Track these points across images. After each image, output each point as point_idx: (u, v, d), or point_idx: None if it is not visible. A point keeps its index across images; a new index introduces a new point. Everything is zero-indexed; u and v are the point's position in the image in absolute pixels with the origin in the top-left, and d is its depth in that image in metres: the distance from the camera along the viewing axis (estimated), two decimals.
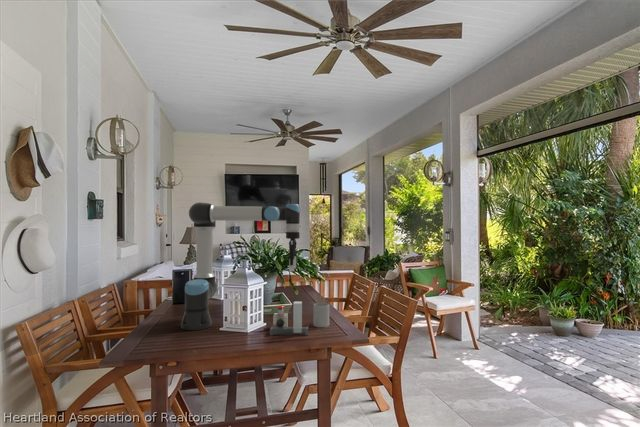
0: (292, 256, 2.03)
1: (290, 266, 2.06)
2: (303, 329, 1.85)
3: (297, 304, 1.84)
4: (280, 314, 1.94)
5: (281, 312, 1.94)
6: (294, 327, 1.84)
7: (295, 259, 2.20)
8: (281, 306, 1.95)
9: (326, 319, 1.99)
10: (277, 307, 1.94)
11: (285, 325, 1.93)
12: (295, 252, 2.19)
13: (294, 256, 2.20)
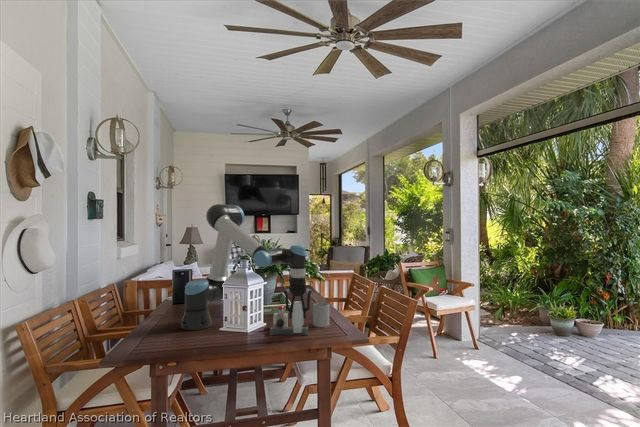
0: (286, 308, 1.86)
1: None
2: (303, 329, 1.85)
3: (297, 304, 1.84)
4: (280, 314, 1.94)
5: (281, 312, 1.94)
6: (294, 327, 1.84)
7: None
8: (281, 306, 1.95)
9: (326, 319, 1.99)
10: (277, 307, 1.94)
11: (285, 325, 1.93)
12: (302, 305, 1.85)
13: (303, 311, 1.86)
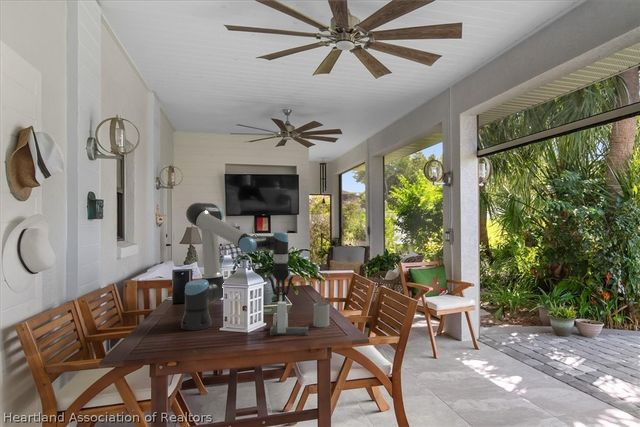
0: None
1: None
2: (303, 329, 1.85)
3: (281, 304, 1.84)
4: None
5: None
6: (278, 327, 1.84)
7: None
8: None
9: (326, 319, 1.99)
10: None
11: None
12: (282, 289, 1.94)
13: (282, 295, 1.95)
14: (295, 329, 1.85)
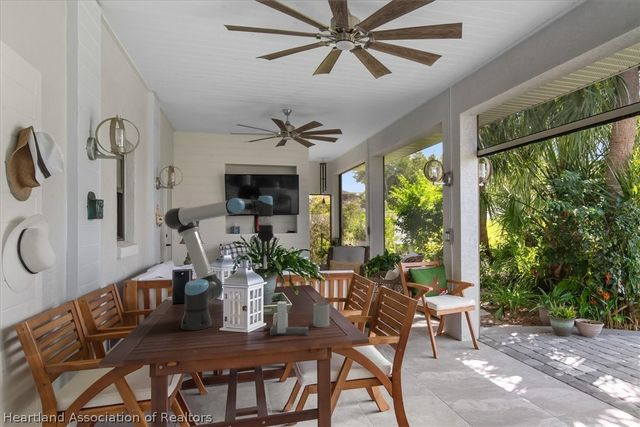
0: None
1: None
2: (303, 329, 1.85)
3: (281, 304, 1.84)
4: None
5: None
6: (278, 327, 1.84)
7: None
8: None
9: (326, 319, 1.99)
10: None
11: None
12: None
13: (266, 256, 2.05)
14: (295, 329, 1.85)
